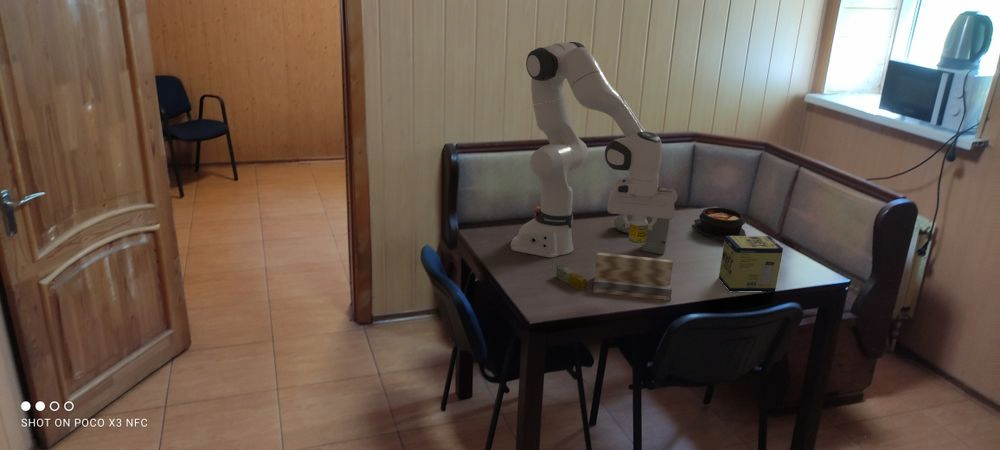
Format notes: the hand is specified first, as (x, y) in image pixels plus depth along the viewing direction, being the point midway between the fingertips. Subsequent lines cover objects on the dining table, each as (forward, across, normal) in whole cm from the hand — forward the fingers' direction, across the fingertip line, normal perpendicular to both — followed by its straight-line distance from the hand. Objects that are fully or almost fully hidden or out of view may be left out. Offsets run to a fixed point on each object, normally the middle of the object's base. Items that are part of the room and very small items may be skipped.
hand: (638, 228), depth 224 cm
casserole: (+21, -33, -58) cm, 70 cm away
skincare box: (+21, -8, -35) cm, 41 cm away
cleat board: (+20, 0, 0) cm, 20 cm away
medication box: (+21, +19, +1) cm, 29 cm away
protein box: (+21, -37, -12) cm, 44 cm away
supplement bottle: (+5, 0, 0) cm, 5 cm away
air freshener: (+21, +2, -52) cm, 56 cm away
